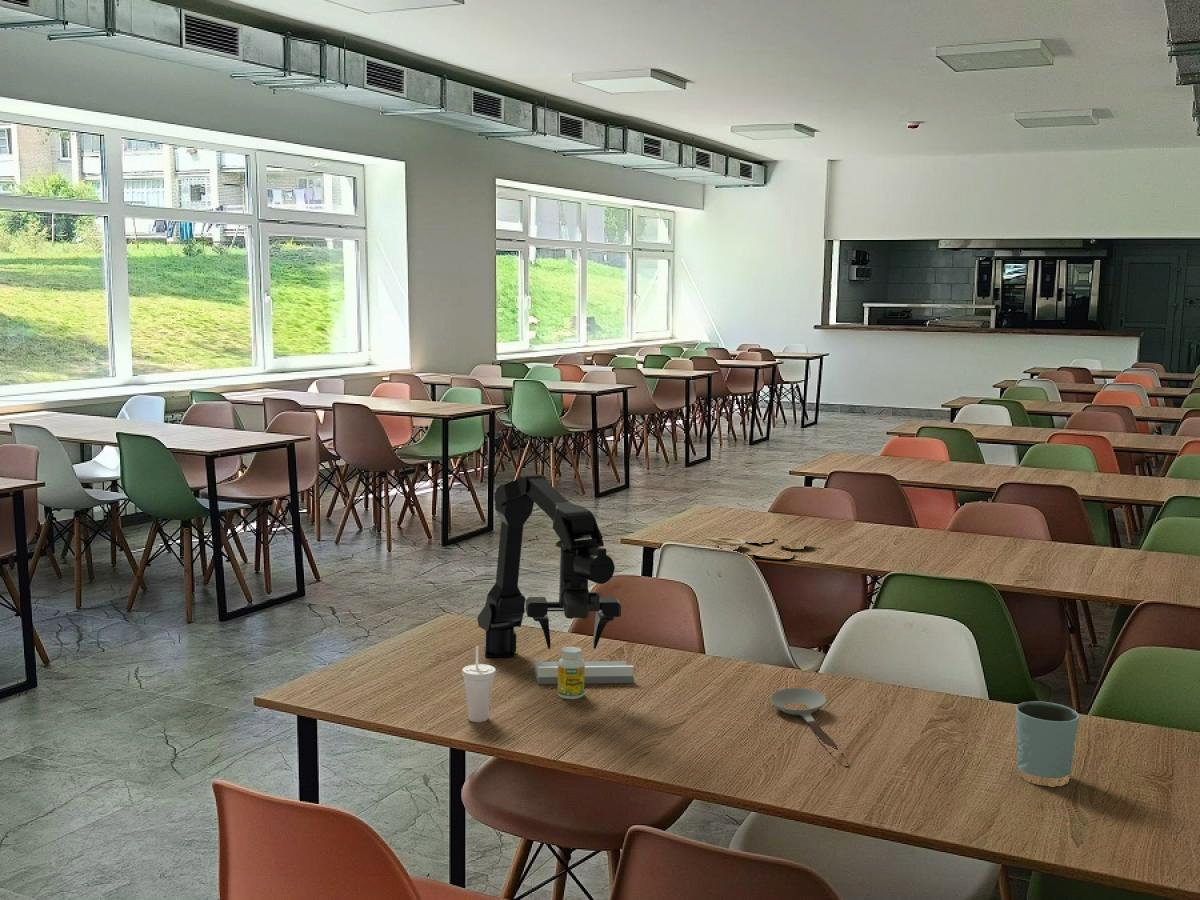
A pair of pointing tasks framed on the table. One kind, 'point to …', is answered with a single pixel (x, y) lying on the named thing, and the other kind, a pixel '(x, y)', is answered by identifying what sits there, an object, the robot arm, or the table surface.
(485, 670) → the smoothie
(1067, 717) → the grey-green cup
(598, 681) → the grey panel
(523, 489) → the robot arm
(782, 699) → the grey frying pan
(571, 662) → the supplement bottle
